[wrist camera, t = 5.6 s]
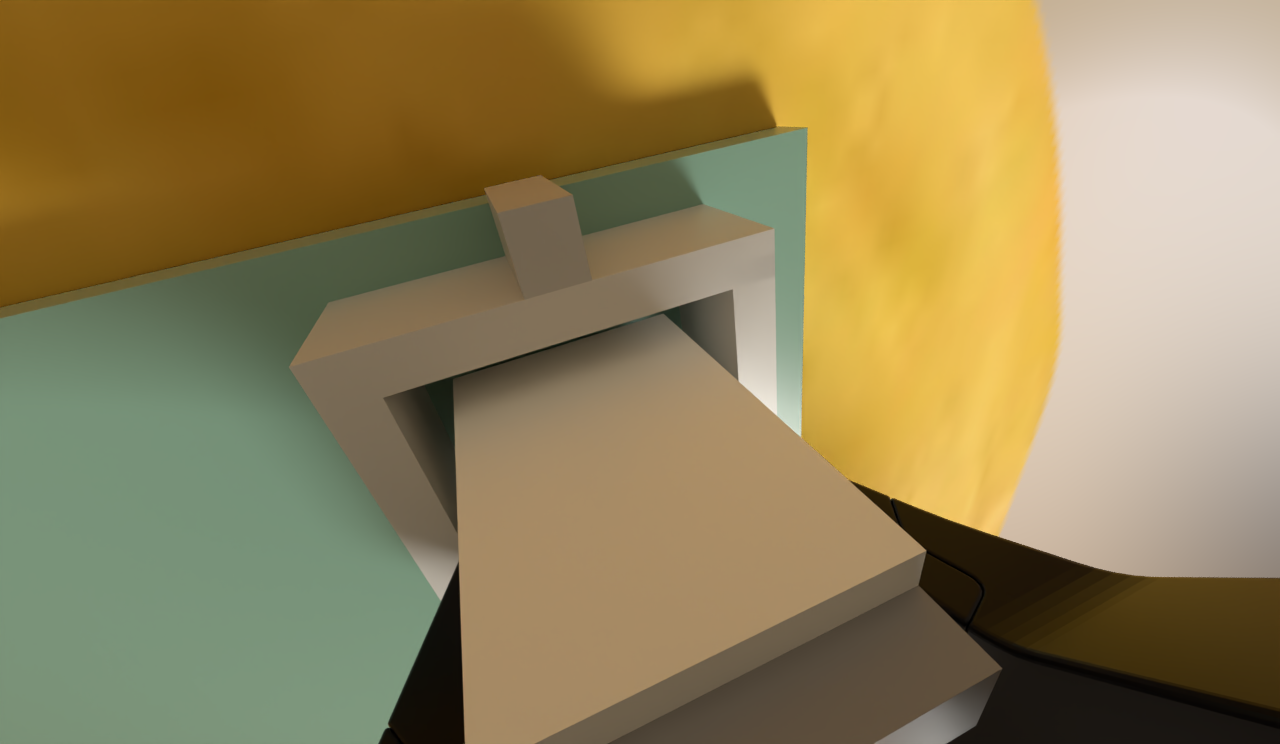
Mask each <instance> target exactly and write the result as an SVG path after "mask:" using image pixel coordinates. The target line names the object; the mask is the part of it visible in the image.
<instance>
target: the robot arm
mask: <svg viewBox="0 0 1280 744" xmlns="http://www.w3.org/2000/svg"><path fill="white" fill-rule="evenodd" d="M849 481H850V480H849ZM850 482H851V483H852V484H853V485H854V486H855V487H857V488H858V489H859V490H860V491H861V492H862V493H863V494H864V495H865V496H867V497H868V498H869V499H870V500H871V501H872V502H873V503H874V504H875V505H877V506H878V507H879V508H880V509H881V510H882V511H883V512H884V513H885V514H886V515H888V516H889V517H890V518H891V519H892V520H893V521H894V522H895V523H896V524H898V525H899V526H900V527H901V528H902V529H903V530H904V531H905V532H906V533H908V534H909V535H910V536H911V537H912V538H913V539H914V540H915V541H916V542H918V543H919V544H920V545H921V546H922V547H923V548H924V549H925V550H926V555H925V559H924V564H923V568H922V572H921V576H920V580H919V584H918V585H919V586H920V587H921V588H922V589H923V590H924V591H925V592H926V593H927V594H928V595H929V596H930V597H931V598H932V599H933V600H934V601H935V602H936V603H937V604H938V605H939V606H940V607H941V608H942V609H943V610H944V611H945V612H946V613H947V614H948V615H949V616H950V617H951V618H952V619H953V620H954V621H955V622H956V623H957V624H958V625H959V626H960V627H961V628H962V629H963V630H964V631H965V632H966V633H967V634H968V635H969V636H970V637H971V638H972V639H973V640H974V641H975V642H976V643H977V644H978V645H979V646H980V647H981V648H982V649H983V650H984V651H985V652H986V653H987V654H988V655H989V656H990V657H991V658H992V659H993V660H994V661H995V662H996V663H997V664H998V665H999V666H1000V667H1001V668H1002V670H1001V672H1000V675H999V677H998V679H997V681H996V683H995V685H994V688H993V690H992V692H991V694H990V696H989V698H988V701H987V703H986V705H985V707H984V709H983V711H982V714H981V716H980V718H979V720H978V722H977V724H976V726H975V727H973V728H971V729H970V730H968V731H966V732H965V733H963V734H961V735H960V736H958V737H957V738H955V739H953V740H952V741H950V742H948V743H947V744H1280V578H1218V577H1216V578H1214V577H1207V578H1206V577H1145V576H1134V575H1127V574H1121V573H1115V572H1111V571H1106V570H1102V569H1098V568H1094V567H1090V566H1087V565H1084V564H1080V563H1077V562H1074V561H1071V560H1068V559H1065V558H1062V557H1059V556H1056V555H1053V554H1050V553H1046V552H1043V551H1040V550H1037V549H1034V548H1031V547H1028V546H1025V545H1022V544H1019V543H1016V542H1013V541H1010V540H1006V539H1003V538H1000V537H997V536H994V535H991V534H988V533H985V532H982V531H979V530H977V529H974V528H971V527H968V526H965V525H962V524H959V523H956V522H953V521H950V520H948V519H945V518H943V517H940V516H937V515H935V514H932V513H930V512H927V511H924V510H922V509H919V508H917V507H914V506H912V505H909V504H907V503H904V502H902V501H899V500H897V499H894V498H892V499H891V500H890V498H889V496H887V495H884V494H882V493H879V492H877V491H875V490H872V489H870V488H867V487H865V486H862V485H860V484H857V483H855V482H853V481H850ZM388 726H389V727H390V728H386V729H385V730H384V732H383V734H382V736H381V739H380V741H379V743H378V744H465V731H464V701H463V671H462V640H461V610H460V580H459V561H458V563H457V566H456V568H455V570H454V573H453V575H452V577H451V579H450V582H449V584H448V586H447V589H446V591H445V593H444V595H443V598H442V600H441V602H440V605H439V607H438V609H437V611H436V614H435V616H434V618H433V620H432V623H431V625H430V627H429V630H428V632H427V634H426V636H425V639H424V641H423V643H422V646H421V648H420V650H419V652H418V655H417V657H416V659H415V662H414V664H413V666H412V668H411V671H410V673H409V675H408V678H407V680H406V682H405V684H404V687H403V689H402V691H401V693H400V696H399V698H398V700H397V703H396V705H395V707H394V709H393V712H392V714H391V716H390V719H389V721H388Z"/></svg>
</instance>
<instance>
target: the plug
mask: <svg viewBox="0 0 1280 744" xmlns="http://www.w3.org/2000/svg"><path fill="white" fill-rule="evenodd" d="M453 398H454V429H455V459H456V489H457V519H458V550H459V580H460V610H461V640H462V671H463V701H464V731H465V744H947V743H948V742H950V741H952V740H953V739H955V738H957V737H958V736H960V735H961V734H963V733H965V732H966V731H968V730H970V729H971V728H973V727H975V726H976V724H977V722H978V720H979V718H980V716H981V714H982V711H983V709H984V707H985V705H986V703H987V701H988V698H989V696H990V694H991V692H992V690H993V688H994V685H995V683H996V681H997V679H998V677H999V675H1000V672H1001V670H1002V668H1001V667H1000V666H999V665H998V664H997V663H996V662H995V661H994V660H993V659H992V658H991V657H990V656H989V655H988V654H987V653H986V652H985V651H984V650H983V649H982V648H981V647H980V646H979V645H978V644H977V643H976V642H975V641H974V640H973V639H972V638H971V637H970V636H969V635H968V634H967V633H966V632H965V631H964V630H963V629H962V628H961V627H960V626H959V625H958V624H957V623H956V622H955V621H954V620H953V619H952V618H951V617H950V616H949V615H948V614H947V613H946V612H945V611H944V610H943V609H942V608H941V607H940V606H939V605H938V604H937V603H936V602H935V601H934V600H933V599H932V598H931V597H930V596H929V595H928V594H927V593H926V592H925V591H924V590H923V589H922V588H921V587H920V586H919V585H918V584H919V580H920V576H921V572H922V568H923V564H924V559H925V555H926V550H925V549H924V548H923V547H922V546H921V545H920V544H919V543H918V542H916V541H915V540H914V539H913V538H912V537H911V536H910V535H909V534H908V533H906V532H905V531H904V530H903V529H902V528H901V527H900V526H899V525H898V524H896V523H895V522H894V521H893V520H892V519H891V518H890V517H889V516H888V515H886V514H885V513H884V512H883V511H882V510H881V509H880V508H879V507H878V506H877V505H875V504H874V503H873V502H872V501H871V500H870V499H869V498H868V497H867V496H865V495H864V494H863V493H862V492H861V491H860V490H859V489H858V488H857V487H855V486H854V485H853V484H852V483H851V482H850V481H849V480H848V479H847V478H845V477H844V476H843V475H842V474H841V473H840V472H839V471H838V470H837V469H835V468H834V467H833V466H832V465H831V464H830V463H829V462H828V461H827V460H825V459H824V458H823V457H822V456H821V455H820V454H819V453H818V452H817V451H815V450H814V449H813V448H812V447H811V446H810V445H809V444H808V443H807V442H805V441H804V440H803V439H802V438H801V437H800V436H799V435H798V434H797V433H795V432H794V431H793V430H792V429H791V428H790V427H789V426H788V425H787V424H785V423H784V422H783V421H782V420H781V419H780V418H779V417H778V416H777V415H775V414H774V413H773V412H772V411H771V410H770V409H769V408H768V407H767V406H765V405H764V404H763V403H762V402H761V401H760V400H759V399H758V398H757V397H755V396H754V395H753V394H752V393H751V392H750V391H749V390H748V389H747V388H745V387H744V386H743V385H742V384H741V383H740V382H739V381H738V380H737V379H735V378H734V377H733V376H732V375H731V374H730V373H729V372H728V371H727V370H725V369H724V368H723V367H722V366H721V365H720V364H719V363H718V362H717V361H716V360H714V359H713V358H712V357H711V356H710V355H709V354H708V353H707V352H706V351H704V350H703V349H702V348H701V347H700V346H699V345H698V344H697V343H696V342H694V341H693V340H692V339H691V338H690V337H689V336H688V335H687V334H686V333H684V332H683V331H682V330H681V329H680V328H679V327H678V326H677V325H676V324H674V323H673V322H672V321H671V320H670V319H669V318H668V317H667V316H666V315H664V314H661V315H657V316H654V317H651V318H648V319H644V320H641V321H638V322H635V323H632V324H628V325H625V326H622V327H619V328H615V329H612V330H609V331H606V332H603V333H599V334H596V335H593V336H590V337H586V338H583V339H580V340H577V341H574V342H570V343H567V344H564V345H561V346H557V347H554V348H551V349H548V350H545V351H541V352H538V353H535V354H532V355H528V356H525V357H522V358H519V359H516V360H512V361H509V362H506V363H503V364H499V365H496V366H493V367H490V368H487V369H483V370H480V371H477V372H474V373H470V374H467V375H464V376H461V377H458V378H454V379H453Z"/></svg>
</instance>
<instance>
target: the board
mask: <svg viewBox="0 0 1280 744" xmlns="http://www.w3.org/2000/svg"><path fill="white" fill-rule="evenodd" d="M806 172H807V128H804V127H775V128H771V129H766V130H762V131H758V132H753V133H749V134H745V135H741V136H736V137H732V138H728V139H723V140H719V141H715V142H710V143H706V144H702V145H697V146H693V147H689V148H685V149H680V150H676V151H672V152H667V153H663V154H659V155H654V156H650V157H646V158H642V159H637V160H633V161H629V162H624V163H620V164H616V165H611V166H607V167H603V168H598V169H594V170H590V171H586V172H581V173H577V174H573V175H568V176H564V177H560V178H555V179H551V180H548V179H546V178H545V177H543V176H542V175H538V176H534V177H530V178H525V179H521V180H517V181H512V182H508V183H503V184H499V185H495V186H490V187H486V188H484V190H485V193H486V195H482V196H478V197H474V198H469V199H465V200H461V201H456V202H452V203H448V204H444V205H439V206H435V207H431V208H426V209H422V210H418V211H413V212H409V213H405V214H401V215H396V216H392V217H388V218H383V219H379V220H375V221H370V222H366V223H362V224H358V225H353V226H349V227H345V228H340V229H336V230H332V231H327V232H323V233H319V234H314V235H310V236H306V237H302V238H297V239H293V240H289V241H284V242H280V243H276V244H271V245H267V246H263V247H259V248H254V249H250V250H246V251H241V252H237V253H233V254H228V255H224V256H220V257H216V258H211V259H207V260H203V261H198V262H194V263H190V264H185V265H181V266H177V267H172V268H168V269H164V270H160V271H155V272H151V273H147V274H142V275H138V276H134V277H129V278H125V279H121V280H117V281H112V282H108V283H104V284H99V285H95V286H91V287H86V288H82V289H78V290H74V291H69V292H65V293H61V294H56V295H52V296H48V297H43V298H39V299H35V300H30V301H26V302H22V303H18V304H13V305H9V306H5V307H0V744H378V743H379V741H380V739H381V736H382V734H383V732H384V730H385V729H386V728H390V727H389V726H388V721H389V719H390V716H391V714H392V712H393V709H394V707H395V705H396V703H397V700H398V698H399V696H400V693H401V691H402V689H403V687H404V684H405V682H406V680H407V678H408V675H409V673H410V671H411V668H412V666H413V664H414V662H415V659H416V657H417V655H418V652H419V650H420V648H421V646H422V643H423V641H424V639H425V636H426V634H427V632H428V630H429V627H430V625H431V623H432V620H433V618H434V616H435V614H436V611H437V609H438V607H439V605H440V602H441V600H442V598H443V595H444V593H445V591H446V589H447V586H448V584H449V582H450V579H451V577H452V575H453V573H454V570H455V568H456V566H457V563H458V561H459V550H458V519H457V489H456V459H455V429H454V398H453V379H454V378H458V377H461V376H464V375H467V374H470V373H474V372H477V371H480V370H483V369H487V368H490V367H493V366H496V365H499V364H503V363H506V362H509V361H512V360H516V359H519V358H522V357H525V356H528V355H532V354H535V353H538V352H541V351H545V350H548V349H551V348H554V347H557V346H561V345H564V344H567V343H570V342H574V341H577V340H580V339H583V338H586V337H590V336H593V335H596V334H599V333H603V332H606V331H609V330H612V329H615V328H619V327H622V326H625V325H628V324H632V323H635V322H638V321H641V320H644V319H648V318H651V317H654V316H657V315H661V314H664V315H666V316H667V317H668V318H669V319H670V320H671V321H672V322H673V323H674V324H676V325H677V326H678V327H679V328H680V329H681V330H682V331H683V332H684V333H686V334H687V335H688V336H689V337H690V338H691V339H692V340H693V341H694V342H696V343H697V344H698V345H699V346H700V347H701V348H702V349H703V350H704V351H706V352H707V353H708V354H709V355H710V356H711V357H712V358H713V359H714V360H716V361H717V362H718V363H719V364H720V365H721V366H722V367H723V368H724V369H725V370H727V371H728V372H729V373H730V374H731V375H732V376H733V377H734V378H735V379H737V380H738V381H739V382H740V383H741V384H742V385H743V386H744V387H745V388H747V389H748V390H749V391H750V392H751V393H752V394H753V395H754V396H755V397H757V398H758V399H759V400H760V401H761V402H762V403H763V404H764V405H765V406H767V407H768V408H769V409H770V410H771V411H772V412H773V413H774V414H775V415H777V416H778V417H779V418H780V419H781V420H782V421H783V422H784V423H785V424H787V425H788V426H789V427H790V428H791V429H792V430H793V431H794V432H795V433H797V434H798V435H799V436H800V437H801V415H802V366H803V317H804V269H805V220H806Z"/></svg>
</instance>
